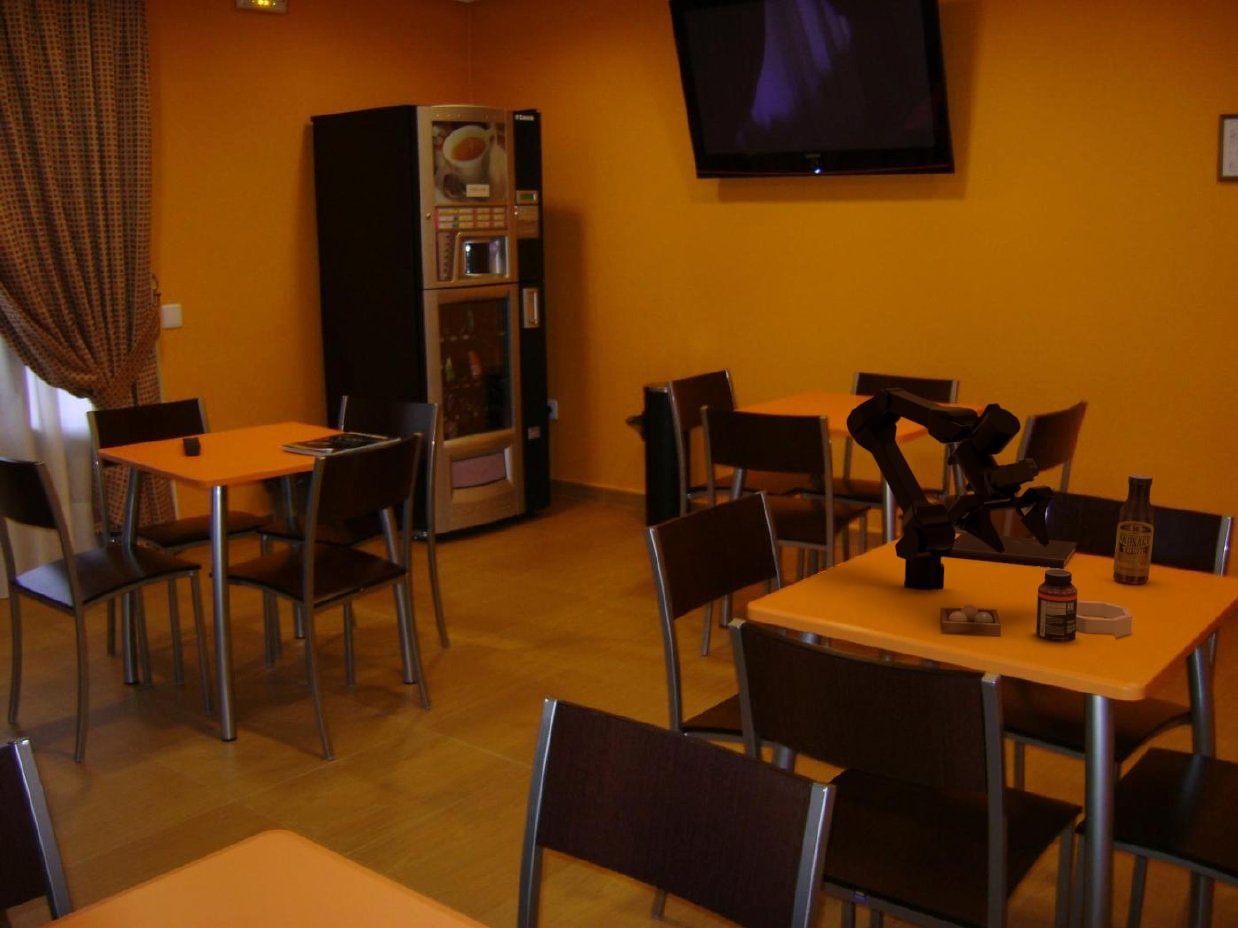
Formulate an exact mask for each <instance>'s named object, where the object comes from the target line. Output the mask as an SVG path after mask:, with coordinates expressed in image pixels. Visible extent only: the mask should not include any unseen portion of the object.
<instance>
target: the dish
mask: <svg viewBox="0 0 1238 928" xmlns="http://www.w3.org/2000/svg"><path fill="white" fill-rule="evenodd" d="M1087 616H1088V617H1087ZM1100 617H1102V618H1100ZM1132 623H1133V615H1132V612H1130V610H1129V609H1128V607H1124V606H1121V605H1118V604H1113V603H1109V602H1105V601H1092V600H1091V601H1088V600H1077V616H1076V632H1082V633H1085V634H1106V635H1113V637H1114V638H1115V639H1118V638H1120V637H1121V638H1122V637H1125V636H1128V635H1131V634H1132Z"/></svg>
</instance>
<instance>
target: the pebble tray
mask: <svg viewBox="0 0 1238 928" xmlns="http://www.w3.org/2000/svg"><path fill="white" fill-rule="evenodd" d="M976 608H977V607H976ZM961 609H962V607H957V606H956V607H955V606H954V607H953V606H940V617H939V618H940V626H941V633H942V635H944V634H945V635H961V636H964V635H966V636H983V637H1002V635H1001V633H1002V624H1001V621H1000V616H999V613H998V609H997V608H996V609H995V608H979V607H978V608H977V610H978V612H979V613H980V612H986V613H988V614H990V615H991V616H992V618H993V623H974V622H952V621H948V619H949V616H950V614H951V613H953V612H955V611H960V610H961Z"/></svg>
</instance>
